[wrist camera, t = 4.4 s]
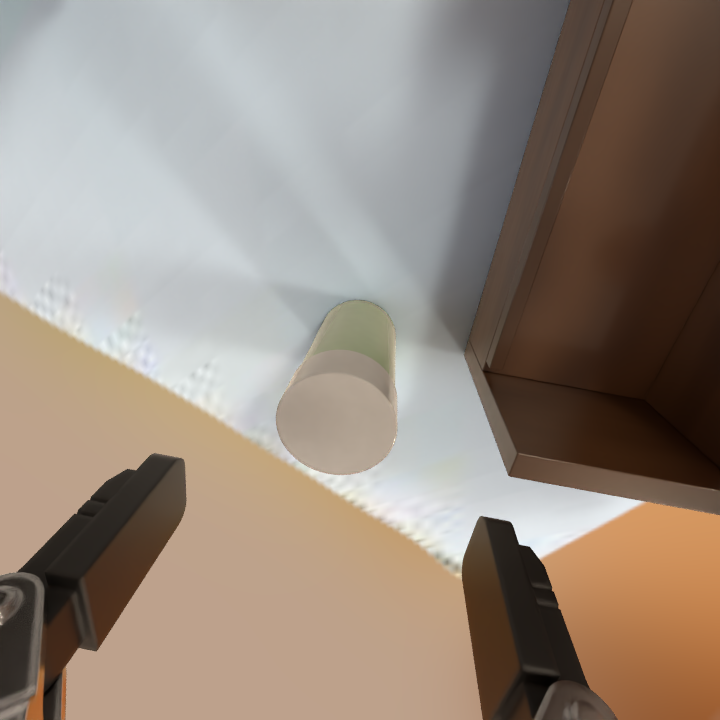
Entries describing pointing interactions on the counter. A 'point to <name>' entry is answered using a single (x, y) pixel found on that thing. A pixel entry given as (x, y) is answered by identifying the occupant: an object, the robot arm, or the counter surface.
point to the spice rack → (613, 264)
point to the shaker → (343, 393)
